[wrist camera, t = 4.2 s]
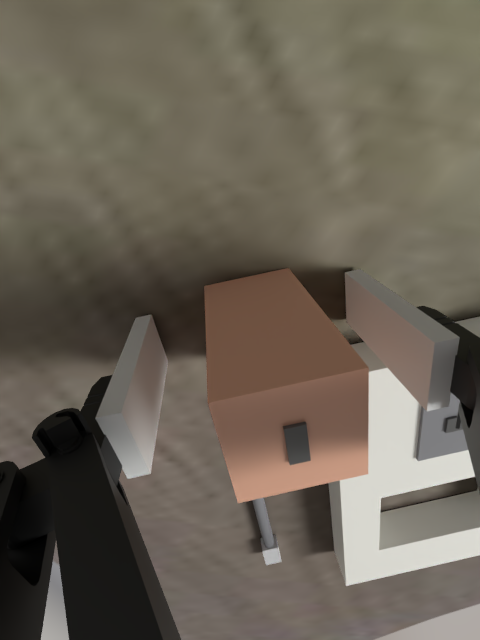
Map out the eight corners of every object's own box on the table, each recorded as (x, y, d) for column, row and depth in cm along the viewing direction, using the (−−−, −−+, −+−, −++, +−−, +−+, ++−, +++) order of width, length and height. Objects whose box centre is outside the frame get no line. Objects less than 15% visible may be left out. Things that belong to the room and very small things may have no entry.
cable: (221, 397, 18) (222, 408, 17) (242, 392, 18) (244, 403, 17) (264, 552, 25) (266, 565, 24) (278, 549, 25) (281, 561, 24)
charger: (204, 285, 15) (208, 406, 8) (288, 267, 15) (370, 370, 8) (222, 356, 17) (238, 506, 9) (296, 340, 17) (369, 477, 10)
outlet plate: (317, 352, 17) (336, 384, 15) (568, 297, 17) (628, 319, 15) (334, 551, 26) (347, 591, 24) (498, 513, 27) (528, 549, 24)
